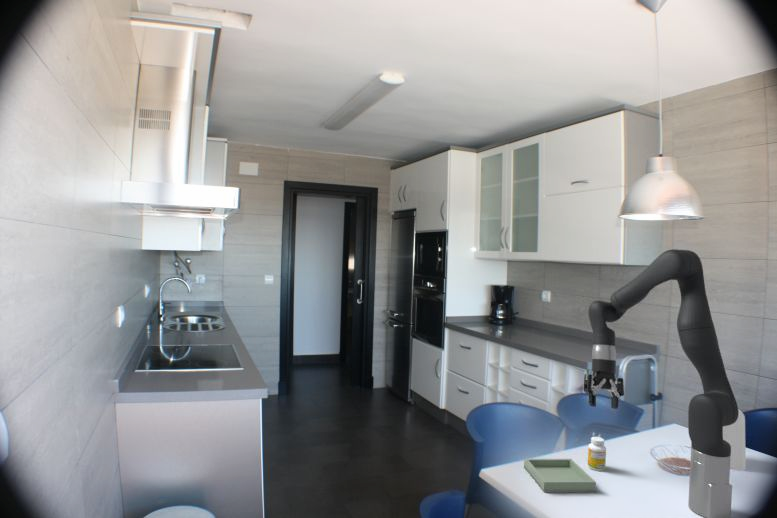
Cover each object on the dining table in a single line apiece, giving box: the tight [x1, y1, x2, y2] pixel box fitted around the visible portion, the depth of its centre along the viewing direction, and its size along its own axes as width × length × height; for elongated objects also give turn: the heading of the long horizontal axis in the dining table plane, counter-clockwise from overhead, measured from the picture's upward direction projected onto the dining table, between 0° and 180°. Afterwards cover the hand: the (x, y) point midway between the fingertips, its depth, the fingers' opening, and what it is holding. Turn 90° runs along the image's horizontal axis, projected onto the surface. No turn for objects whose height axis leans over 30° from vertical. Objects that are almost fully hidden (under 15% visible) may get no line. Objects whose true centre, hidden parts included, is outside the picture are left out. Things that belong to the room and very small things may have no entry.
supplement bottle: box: [587, 436, 607, 472], centre depth 159 cm, size 5×5×10 cm
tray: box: [523, 458, 597, 493], centre depth 150 cm, size 16×16×3 cm
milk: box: [723, 408, 747, 472], centre depth 168 cm, size 12×12×26 cm
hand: (603, 407), depth 161 cm, fingers open, 8 cm apart
